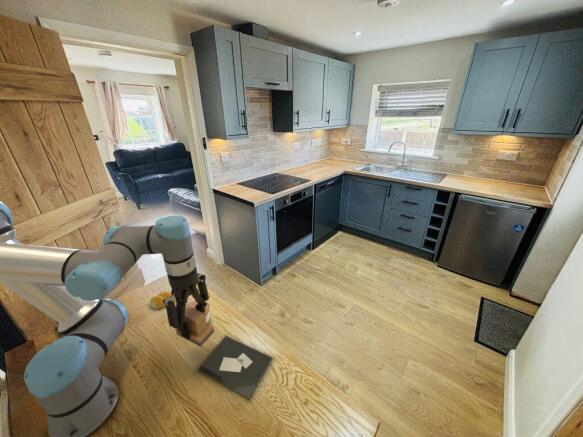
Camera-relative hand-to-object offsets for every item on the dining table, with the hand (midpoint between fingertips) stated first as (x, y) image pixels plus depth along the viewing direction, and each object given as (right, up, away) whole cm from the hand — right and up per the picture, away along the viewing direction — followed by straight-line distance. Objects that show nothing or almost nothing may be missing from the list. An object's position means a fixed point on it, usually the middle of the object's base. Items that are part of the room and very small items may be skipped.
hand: (194, 328), depth 75 cm
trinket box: (-6, -7, +19) cm, 22 cm away
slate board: (+12, -14, +4) cm, 19 cm away
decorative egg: (-40, -6, +22) cm, 46 cm away
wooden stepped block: (0, -2, +1) cm, 2 cm away
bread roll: (-26, -2, +30) cm, 40 cm away
